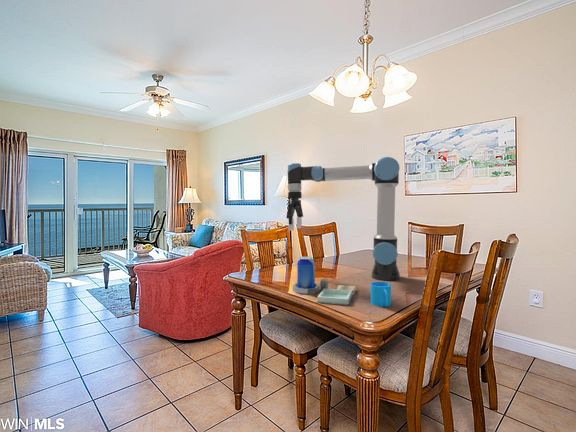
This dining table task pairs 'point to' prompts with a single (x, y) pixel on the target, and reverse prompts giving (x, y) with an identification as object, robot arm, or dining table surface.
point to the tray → (335, 296)
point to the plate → (347, 288)
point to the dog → (323, 284)
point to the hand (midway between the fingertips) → (295, 229)
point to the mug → (380, 294)
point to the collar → (306, 289)
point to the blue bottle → (306, 272)
